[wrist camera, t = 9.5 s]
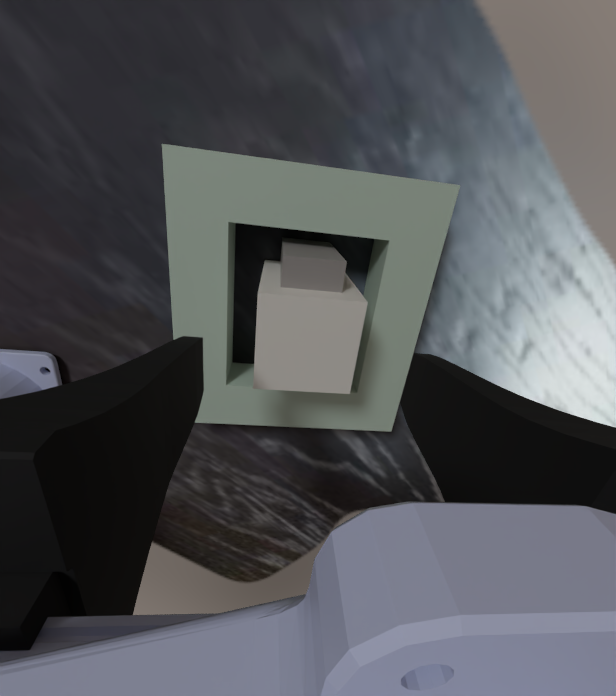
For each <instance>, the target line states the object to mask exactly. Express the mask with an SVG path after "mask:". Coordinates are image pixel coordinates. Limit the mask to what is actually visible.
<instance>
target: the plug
mask: <svg viewBox="0 0 616 696" xmlns="http://www.w3.org/2000/svg"><path fill="white" fill-rule="evenodd" d="M346 264H347V261H346V260H345V259H344V258H343V257H342V256H341V255H340V253H339V252H338V251H337V250H336V249H335V248H334V247H333V246H332V245H331V243H330V242H323V241H314V240H305V239H295V238H286V237H282V248H281V261H273V260H265V262H264V266H263V271H262V276H261V280H260V285H259V289H258V298H257V318H256V338H255V359H254V379H253V389H267V390H285V391H303V392H321V393H340V394H350V390H351V385H352V380H353V375H354V370H355V365H356V360H357V355H358V350H359V345H360V340H361V334H362V329H363V324H364V319H365V314H366V309H367V304H368V302H367V301H366V299H365V298H364V297H363V295H362V294H361V293H360V291H359V290H358V289H357V287H356V286H355V285H354V284H353V282H352V281H351V280H350V278H349V277H348V276H347V274H346V273H345V270H346Z"/></svg>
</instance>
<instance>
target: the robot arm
mask: <svg viewBox="0 0 616 696" xmlns="http://www.w3.org/2000/svg"><path fill="white" fill-rule="evenodd" d="M44 367H46V368H48V369H49V370H50V372H49V371H47V370H46V369H45V368H44ZM203 392H204V373H203V337H190V336H182V337H179V338H177V339H175V340H173V341H170V342H168V343H166V344H164V345H163V346H161V347H159V348H157V349H155V350H153V351H151V352H148V353H146V354H144V355H142V356H140V357H138V358H136V359H133V360H131V361H129V362H127V363H124V364H122V365H120V366H118V367H115V368H113V369H110V370H107V371H105V372H102V373H99V374H96V375H93V376H90V377H87V378H84V379H81V380H78V381H75V382H71V383H67V384H63V385H62V381H61V377H60V372H59V368H58V363H57V360H56V358H55V357H54V356H53V355H52V354H50V353H47V352H36V351H21V350H6V349H0V696H616V428H615V427H611V426H607V425H604V424H600V423H597V422H593V421H590V420H587V419H584V418H580V417H577V416H574V415H571V414H568V413H565V412H562V411H559V410H556V409H553V408H550V407H548V406H545V405H542V404H540V403H537V402H535V401H532V400H529V399H527V398H524V397H522V396H520V395H517V394H515V393H513V392H511V391H508V390H506V389H504V388H502V387H500V386H497V385H495V384H493V383H491V382H489V381H487V380H485V379H483V378H481V377H479V376H477V375H475V374H473V373H471V372H469V371H467V370H465V369H463V368H461V367H459V366H457V365H455V364H453V363H451V362H449V361H446V360H444V359H442V358H440V357H437V356H434V355H431V354H418V353H414V354H413V358H412V362H411V365H410V369H409V372H408V376H407V379H406V383H405V387H404V390H403V394H402V397H401V401H400V403H401V406H402V410H403V413H404V416H405V419H406V422H407V424H408V427H409V429H410V431H411V433H412V435H413V437H414V439H415V441H416V443H417V445H418V447H419V449H420V451H421V452H422V454H423V456H424V458H425V460H426V462H427V464H428V466H429V468H430V470H431V472H432V474H433V476H434V477H435V479H436V482H437V484H438V486H439V488H440V490H441V493H442V495H443V498H444V500H445V502H403V503H397V504H391V505H385V506H379V507H373V508H368V509H366V510H365V511H363V512H361V513H360V514H358V515H356V516H354V517H353V518H351V519H349V520H348V521H346V522H344V523H342V524H341V525H339V526H337V527H336V528H335V529H334V530H333V531H332V532H331V533H330V535H329V536H328V538H327V540H326V541H325V543H324V545H323V546H322V548H321V549H320V551H319V553H318V554H317V556H316V558H315V560H314V565H313V570H312V575H311V580H310V585H309V588H308V591H307V593H306V594H305V595H300V596H296V597H291V598H286V599H282V600H277V601H273V602H269V603H264V604H259V605H255V606H250V607H246V608H241V609H237V610H232V611H228V612H224V613H219V614H174V615H173V614H172V615H133V611H134V607H135V603H136V599H137V595H138V591H139V587H140V584H141V580H142V576H143V572H144V568H145V565H146V561H147V557H148V553H149V550H150V546H151V543H152V539H153V536H154V532H155V529H156V525H157V522H158V518H159V515H160V512H161V508H162V505H163V502H164V498H165V495H166V492H167V488H168V485H169V482H170V480H171V477H172V474H173V472H174V469H175V467H176V465H177V462H178V460H179V458H180V455H181V453H182V451H183V448H184V446H185V444H186V441H187V439H188V437H189V435H190V432H191V430H192V427H193V425H194V423H195V420H196V418H197V415H198V412H199V408H200V404H201V400H202V396H203Z"/></svg>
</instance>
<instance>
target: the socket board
mask: <svg viewBox="0 0 616 696" xmlns="http://www.w3.org/2000/svg"><path fill="white" fill-rule="evenodd" d="M162 154H163V171H164V187H165V204H166V221H167V238H168V255H169V271H170V288H171V305H172V322H173V339H174V340H175V339H177V338H179V337H182V336H190V337H203V373H204V392H203V396H202V400H201V404H200V408H199V412H198V415H197V418H196V420H195V423H217V424H238V425H260V426H282V427H303V428H325V429H346V430H368V431H389V432H391V431H392V428H393V424H394V420H395V417H396V413H397V410H398V406H399V402H400V399H401V395H402V392H403V388H404V385H405V381H406V377H407V374H408V370H409V367H410V363H411V360H412V356H413V352H414V349H415V345H416V342H417V338H418V335H419V331H420V327H421V324H422V320H423V317H424V313H425V310H426V306H427V302H428V299H429V295H430V292H431V288H432V285H433V281H434V277H435V274H436V270H437V267H438V263H439V260H440V256H441V252H442V249H443V245H444V242H445V238H446V235H447V231H448V227H449V224H450V220H451V217H452V213H453V209H454V206H455V202H456V199H457V195H458V192H459V188H460V185H454V184H446V183H439V182H432V181H425V180H418V179H411V178H403V177H396V176H389V175H382V174H375V173H367V172H360V171H353V170H346V169H339V168H331V167H324V166H317V165H310V164H303V163H296V162H288V161H281V160H274V159H267V158H260V157H252V156H245V155H238V154H231V153H224V152H216V151H209V150H202V149H195V148H188V147H180V146H173V145H166V144H162ZM236 223H242V224H251V225H259V226H268V227H277V228H285V229H294V230H303V231H311V232H320V233H329V234H337V235H346V236H354V237H363V238H372V239H374V243H373V248H372V253H371V258H370V264H369V269H368V274H367V279H366V284H365V289H364V295H363V297H364V298H365V299H366V301H367V302H368V304H367V309H366V314H365V319H364V324H363V329H362V334H361V340H360V345H359V350H358V355H357V360H356V365H355V370H354V375H353V380H352V385H351V390H350V394H340V393H321V392H303V391H285V390H267V389H253V379H254V364H247V363H232V357H233V313H234V270H235V227H236Z"/></svg>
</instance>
